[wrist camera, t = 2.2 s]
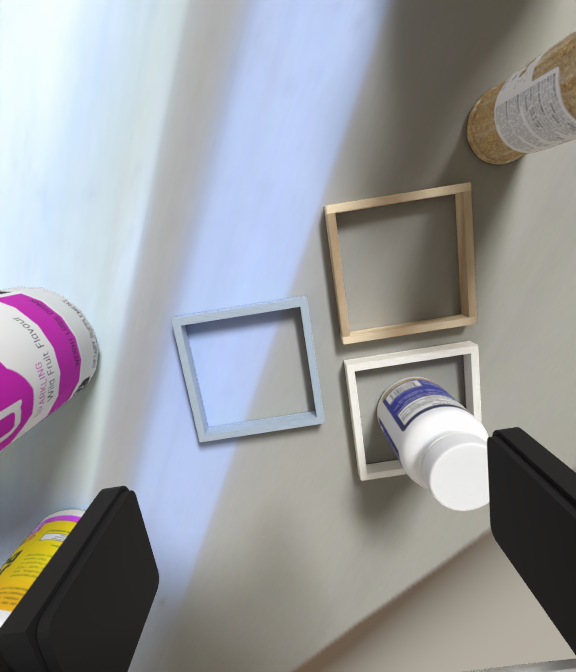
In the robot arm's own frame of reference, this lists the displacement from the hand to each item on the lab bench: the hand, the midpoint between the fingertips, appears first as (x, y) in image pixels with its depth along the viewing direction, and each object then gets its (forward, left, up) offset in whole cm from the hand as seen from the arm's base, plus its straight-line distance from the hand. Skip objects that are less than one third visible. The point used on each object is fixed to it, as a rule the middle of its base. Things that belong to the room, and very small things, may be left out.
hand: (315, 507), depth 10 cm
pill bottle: (-8, +7, -18) cm, 21 cm away
